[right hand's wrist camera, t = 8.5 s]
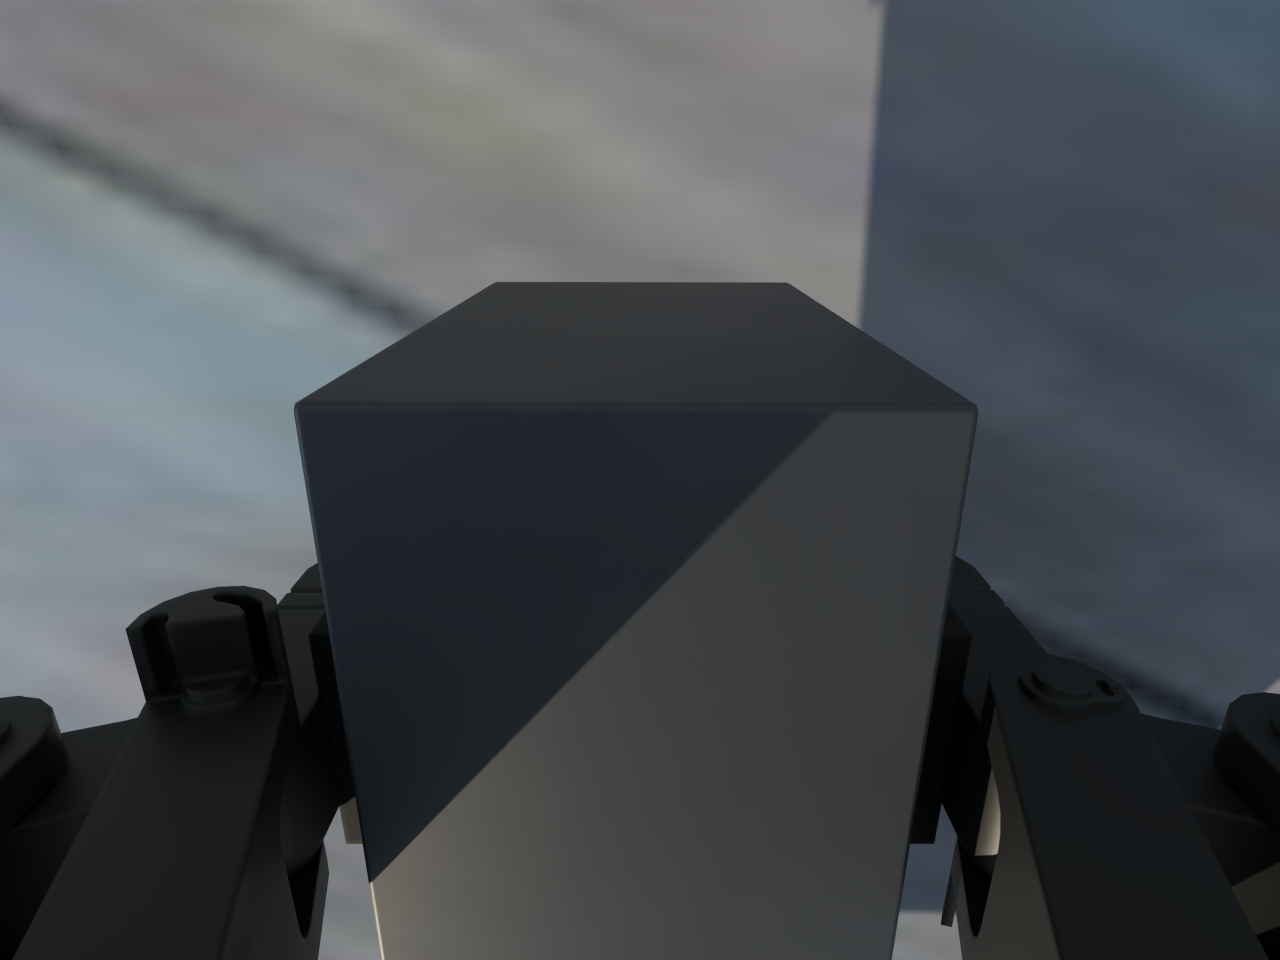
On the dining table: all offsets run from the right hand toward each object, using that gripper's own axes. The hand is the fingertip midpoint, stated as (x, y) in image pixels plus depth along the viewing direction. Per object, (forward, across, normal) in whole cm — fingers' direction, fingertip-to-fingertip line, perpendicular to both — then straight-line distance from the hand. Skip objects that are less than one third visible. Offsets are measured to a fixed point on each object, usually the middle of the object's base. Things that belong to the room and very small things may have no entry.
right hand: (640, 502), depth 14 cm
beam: (0, 0, -10) cm, 10 cm away
